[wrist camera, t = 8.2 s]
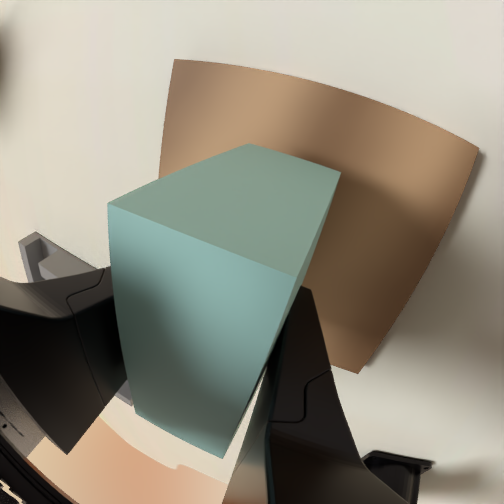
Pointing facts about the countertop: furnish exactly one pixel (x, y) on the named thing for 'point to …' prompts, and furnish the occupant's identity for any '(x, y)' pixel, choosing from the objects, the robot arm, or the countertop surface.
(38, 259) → the dispenser holder
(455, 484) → the countertop surface
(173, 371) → the block
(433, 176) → the walnut board
